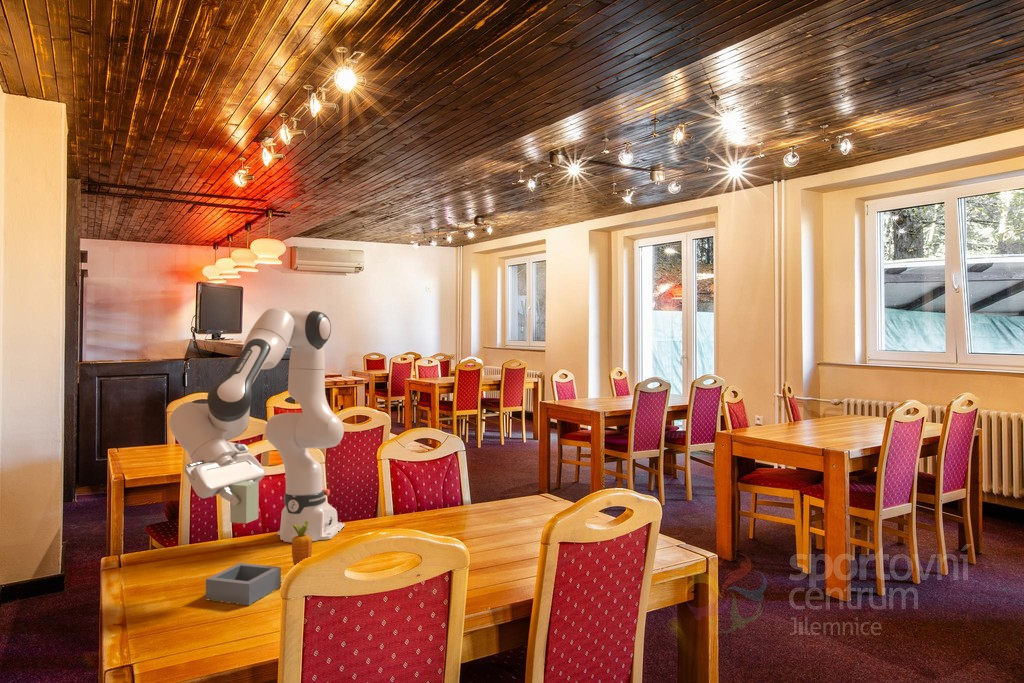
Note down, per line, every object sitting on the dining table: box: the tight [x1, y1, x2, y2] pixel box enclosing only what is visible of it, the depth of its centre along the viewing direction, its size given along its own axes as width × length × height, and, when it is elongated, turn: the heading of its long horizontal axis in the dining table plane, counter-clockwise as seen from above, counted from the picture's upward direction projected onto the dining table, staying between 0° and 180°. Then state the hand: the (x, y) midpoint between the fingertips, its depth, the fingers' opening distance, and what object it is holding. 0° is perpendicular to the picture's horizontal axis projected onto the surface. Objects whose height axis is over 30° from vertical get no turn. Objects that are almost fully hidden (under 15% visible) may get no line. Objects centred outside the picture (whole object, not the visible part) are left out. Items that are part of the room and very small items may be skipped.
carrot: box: [291, 520, 313, 566], centre depth 166 cm, size 5×5×15 cm
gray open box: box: [205, 562, 282, 606], centre depth 156 cm, size 12×12×5 cm
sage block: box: [229, 481, 260, 524], centre depth 156 cm, size 4×4×9 cm
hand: (246, 500), depth 156 cm, fingers closed on sage block, 5 cm apart
